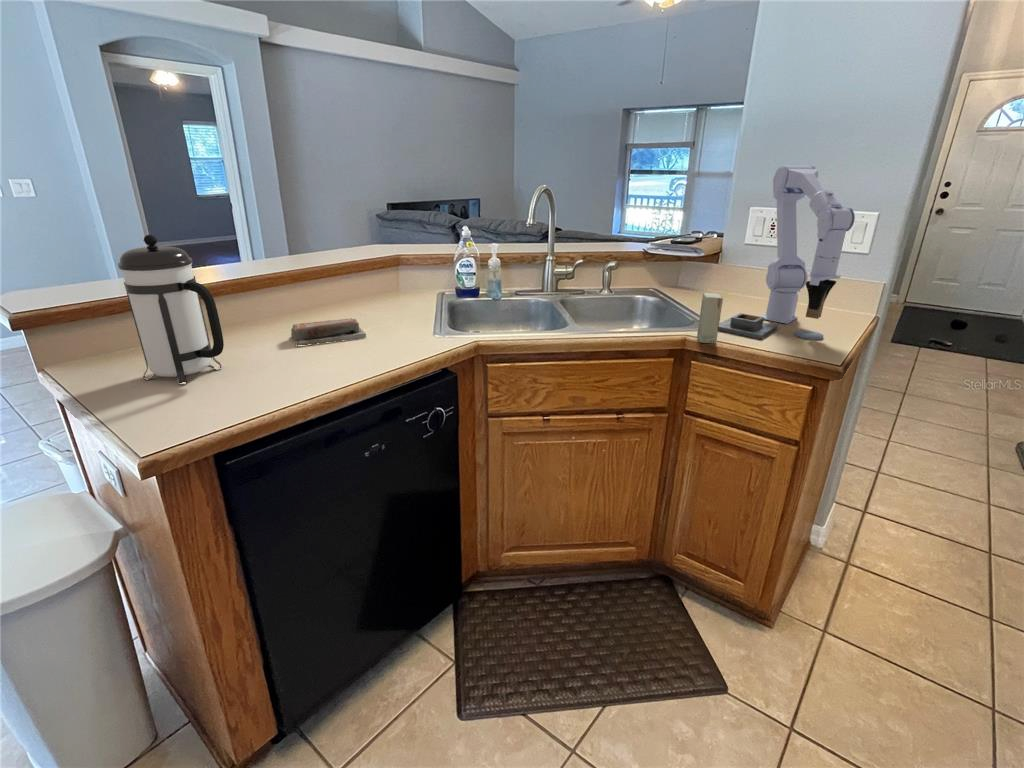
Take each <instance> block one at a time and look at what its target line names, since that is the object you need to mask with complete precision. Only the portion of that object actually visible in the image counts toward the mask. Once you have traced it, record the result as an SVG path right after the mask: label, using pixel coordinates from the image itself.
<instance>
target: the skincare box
mask: <svg viewBox="0 0 1024 768" xmlns="http://www.w3.org/2000/svg"><path fill="white" fill-rule="evenodd" d="M723 300H724V297H723V296H722V295H721V294H720V293H714V292H703V293H702V299H701V306H700V313H699V321H698V327H697V335H696V337H697V340H698V342H699V343H703V344H704V343H706V344H717V341H718V335H719V334H718V333H719V331H718V328H719V323H720V321H721V313H722V308H723Z"/></svg>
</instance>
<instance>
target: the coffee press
mask: <svg viewBox="0 0 1024 768" xmlns="http://www.w3.org/2000/svg"><path fill="white" fill-rule="evenodd" d="M143 242H144V243H145V244H146V245H147V246H145V247H137V248H132V249H129V250H127V251H125V252H124V253H122V254H121V256H120V258H119V262H118V263H117V267H118V269H119V270H120V271H121V273H122V276H123V280H124V282H123V284H124V289H125V292H126V295H127V299H128V303H129V308H130V310H131V315H132V317H133V321H134V324H135V329H136V332H137V336H138V338H139V343H140V346H141V349H142V350H141V351H142V354H143V357H144V361H145V365H146V370H145V372H144V373H143V379H144V378H145V377H146V376H145V375H147V372H148V370H149V371H150V372H151V373H152V375H153V376H152V375H151V376H152V377H153V378H154V377H155V376H159V377H165V378H166V377H168V378H170V377H177V381H178V384H179V383H182V382H187V378H186V377H187V375H193V374H195V373H198V372H201V371H203V370H205V369H207V368H211V369H213V370H215V369H214V367H215V366H214V365H211V364H212V362H213V361H214V362H215V363H216V364H217V365H219V367H220V368H221V369H222V364H221V362H219V361H218V360H217V359H216V358H215V357H217V356H220V355H221V354H222V352H223V349H224V345H225V344H224V342H225V341H224V336H223V331H222V326H221V321H220V317H219V313H218V309H217V305H216V302H215V299H214V297H213V295H212V294H211V292H210V290H209V289H208V288H207V287H206V286H204V284H201V283H199V282H197V280H196V276H195V275H194V272H193V267H192V264H193V258H192V257H189V255H188V253H187V252H186V251H185V250H184V249H182V248H180V247H175V246H169V245H168V246H167V245H166V246H165V245H162V246H161V245H159V246H158V245H157V243H158V239H157V238H156V236H155V235H153V234H146V235H145V236H144V237H143ZM201 299H202V301H203V302H204V306H205V309H206V313H207V314H206V315H207V319H208V323H209V327H210V333H211V336H212V343H213V346H211V341H210V337H209V333H208V329H207V324H206V320H205V319H206V318H205V315H204V311H203V306H202V301H201Z"/></svg>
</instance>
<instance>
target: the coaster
mask: <svg viewBox="0 0 1024 768" xmlns="http://www.w3.org/2000/svg"><path fill="white" fill-rule="evenodd" d="M794 336H795V337H797V338H799V339H803V340H808V339H809V341H821V340H823V339H824V335H823V334H822V333H820V332H817V331H813V330H804V329H803V330H800V329H799V330H796V331H794Z"/></svg>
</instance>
